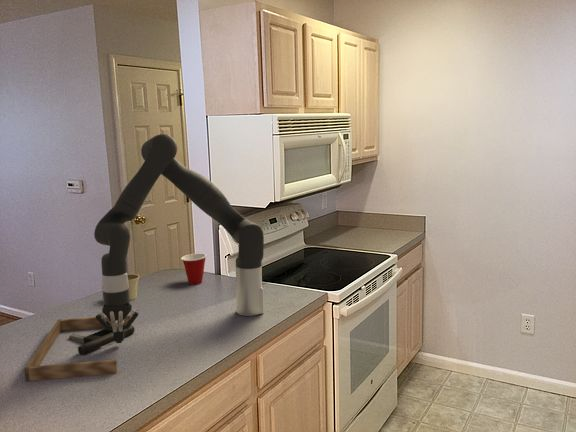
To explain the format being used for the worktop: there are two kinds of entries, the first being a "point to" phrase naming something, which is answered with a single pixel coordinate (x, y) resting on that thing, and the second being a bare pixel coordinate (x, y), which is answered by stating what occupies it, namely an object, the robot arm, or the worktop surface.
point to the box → (70, 369)
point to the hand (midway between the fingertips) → (119, 342)
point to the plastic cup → (194, 267)
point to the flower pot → (133, 285)
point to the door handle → (97, 339)
